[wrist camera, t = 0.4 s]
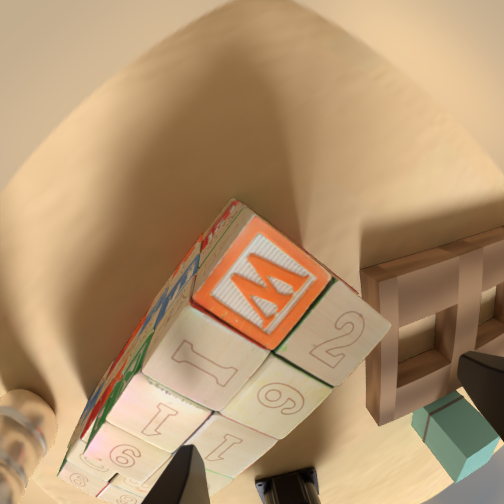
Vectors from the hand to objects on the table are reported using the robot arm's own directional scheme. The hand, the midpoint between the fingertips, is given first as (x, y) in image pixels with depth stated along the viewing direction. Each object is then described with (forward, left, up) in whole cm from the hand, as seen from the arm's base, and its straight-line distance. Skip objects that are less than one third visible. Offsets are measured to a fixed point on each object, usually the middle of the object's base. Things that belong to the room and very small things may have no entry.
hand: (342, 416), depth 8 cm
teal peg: (-19, -15, -14) cm, 28 cm away
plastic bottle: (-8, +24, -14) cm, 29 cm away
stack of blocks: (-3, +7, -14) cm, 16 cm away
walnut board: (-8, -16, -14) cm, 23 cm away
